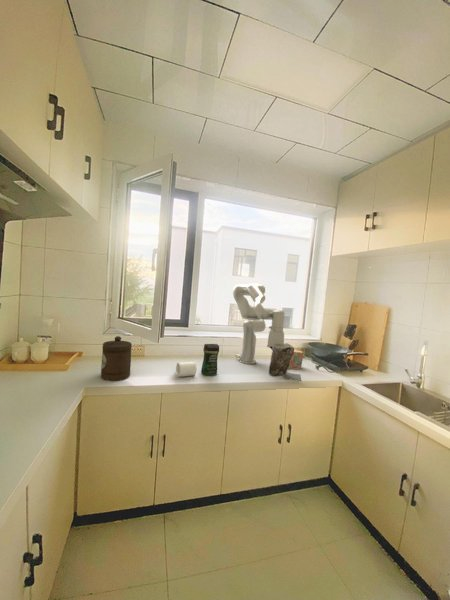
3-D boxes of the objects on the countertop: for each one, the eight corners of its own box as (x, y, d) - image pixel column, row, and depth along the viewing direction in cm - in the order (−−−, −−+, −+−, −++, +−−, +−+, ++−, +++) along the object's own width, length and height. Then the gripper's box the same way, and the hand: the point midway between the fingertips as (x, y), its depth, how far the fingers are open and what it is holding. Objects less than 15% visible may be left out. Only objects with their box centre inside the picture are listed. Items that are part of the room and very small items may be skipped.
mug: (196, 377, 150) (197, 364, 149) (179, 379, 145) (180, 365, 145) (189, 370, 160) (190, 357, 160) (173, 371, 156) (174, 358, 155)
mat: (283, 378, 161) (283, 377, 161) (283, 372, 173) (283, 371, 173) (301, 381, 159) (301, 380, 159) (300, 375, 171) (300, 374, 170)
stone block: (280, 368, 174) (287, 341, 169) (287, 373, 169) (295, 346, 164) (266, 372, 166) (273, 344, 161) (274, 378, 161) (281, 350, 155)
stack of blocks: (271, 366, 184) (273, 349, 184) (270, 363, 191) (272, 347, 190) (301, 369, 184) (303, 352, 183) (299, 366, 190) (301, 350, 189)
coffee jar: (203, 376, 152) (206, 345, 151) (199, 371, 160) (202, 342, 158) (218, 375, 156) (221, 345, 155) (214, 370, 163) (216, 342, 162)
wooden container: (105, 370, 147) (108, 333, 146) (132, 371, 150) (135, 334, 148) (96, 380, 133) (99, 338, 131) (126, 381, 135) (129, 340, 133)
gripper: (265, 328, 164) (262, 356, 165) (289, 331, 161) (286, 360, 162) (265, 326, 172) (263, 353, 173) (288, 329, 168) (286, 357, 169)
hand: (274, 356), depth 167 cm, fingers closed
